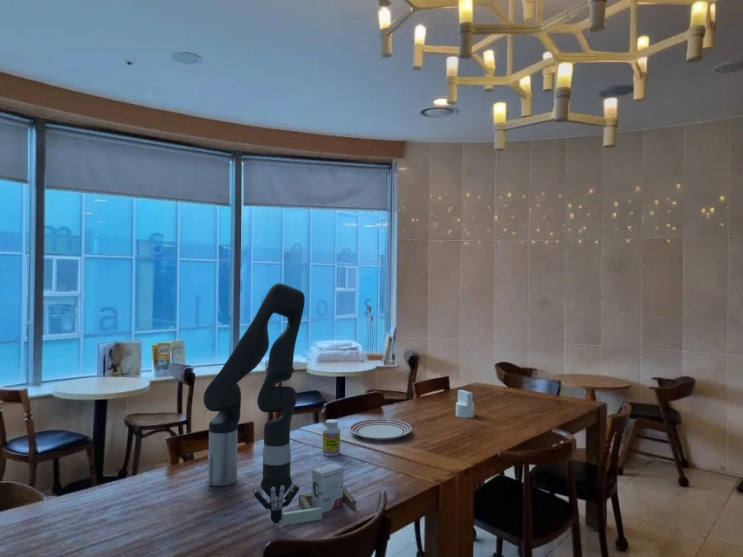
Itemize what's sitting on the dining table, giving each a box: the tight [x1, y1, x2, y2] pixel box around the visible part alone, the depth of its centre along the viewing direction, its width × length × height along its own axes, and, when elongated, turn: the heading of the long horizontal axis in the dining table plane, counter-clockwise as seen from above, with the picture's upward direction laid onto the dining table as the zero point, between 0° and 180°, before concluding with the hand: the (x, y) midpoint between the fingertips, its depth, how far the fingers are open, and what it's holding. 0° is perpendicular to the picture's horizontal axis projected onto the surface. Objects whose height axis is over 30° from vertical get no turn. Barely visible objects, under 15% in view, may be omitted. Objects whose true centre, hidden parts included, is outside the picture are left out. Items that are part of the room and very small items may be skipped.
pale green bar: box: [281, 507, 323, 526], centre depth 145 cm, size 11×1×3 cm, turn 111°
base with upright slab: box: [455, 389, 475, 419], centre depth 260 cm, size 9×9×12 cm
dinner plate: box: [349, 418, 412, 441], centre depth 228 cm, size 27×27×3 cm
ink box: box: [311, 462, 344, 514], centre depth 154 cm, size 9×5×12 cm, turn 133°
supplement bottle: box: [322, 418, 341, 457], centre depth 201 cm, size 7×7×13 cm
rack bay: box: [298, 488, 357, 511], centre depth 156 cm, size 15×12×8 cm
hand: (276, 522), depth 142 cm, fingers closed
